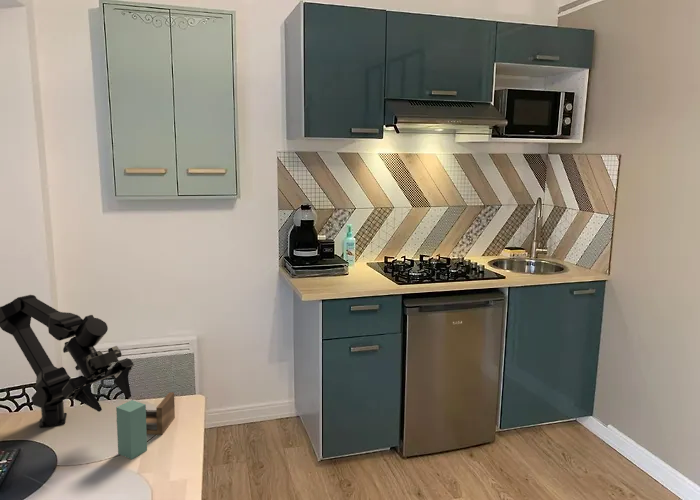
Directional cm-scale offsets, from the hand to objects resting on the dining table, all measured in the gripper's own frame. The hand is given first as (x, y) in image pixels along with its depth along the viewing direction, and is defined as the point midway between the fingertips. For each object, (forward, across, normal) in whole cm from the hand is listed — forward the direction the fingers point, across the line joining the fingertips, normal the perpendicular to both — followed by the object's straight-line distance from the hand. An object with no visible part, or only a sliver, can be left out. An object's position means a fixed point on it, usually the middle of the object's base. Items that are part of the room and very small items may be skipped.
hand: (115, 403), depth 143 cm
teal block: (+13, 0, +4) cm, 13 cm away
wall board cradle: (+8, +13, +9) cm, 18 cm away
